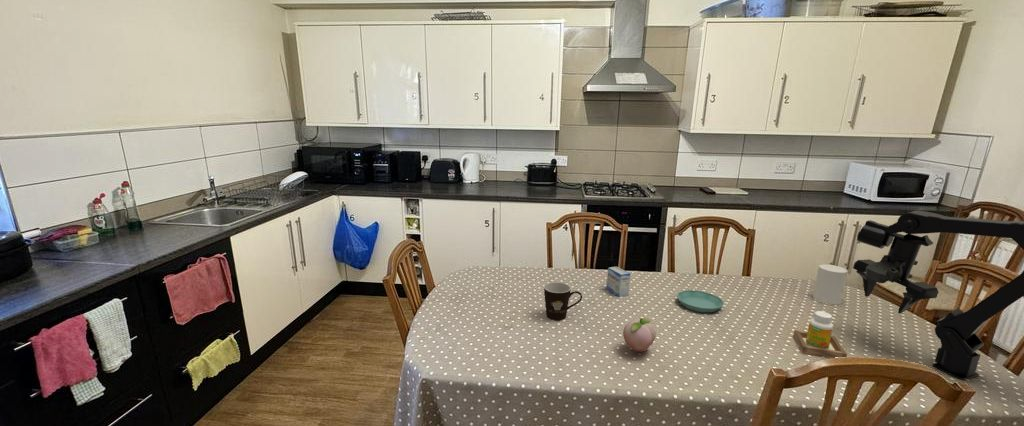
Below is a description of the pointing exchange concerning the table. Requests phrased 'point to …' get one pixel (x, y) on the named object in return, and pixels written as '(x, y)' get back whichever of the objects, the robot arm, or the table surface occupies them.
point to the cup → (830, 284)
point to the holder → (831, 352)
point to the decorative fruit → (639, 334)
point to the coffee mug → (558, 300)
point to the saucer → (700, 301)
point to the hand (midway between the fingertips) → (882, 304)
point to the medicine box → (618, 281)
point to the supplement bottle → (820, 330)
